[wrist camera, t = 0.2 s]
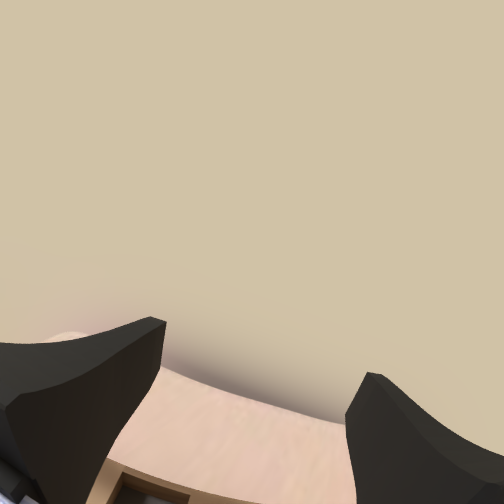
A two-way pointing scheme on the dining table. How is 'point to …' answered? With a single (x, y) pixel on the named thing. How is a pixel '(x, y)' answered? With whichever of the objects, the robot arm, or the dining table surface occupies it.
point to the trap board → (145, 489)
